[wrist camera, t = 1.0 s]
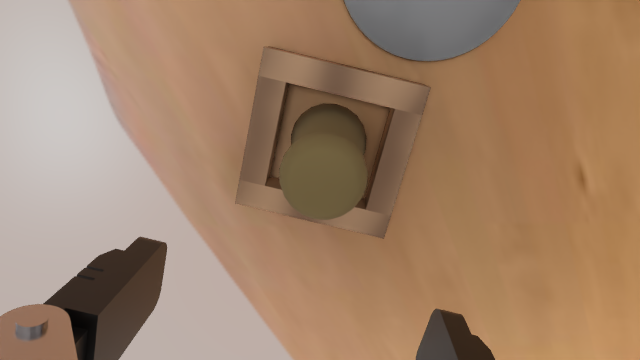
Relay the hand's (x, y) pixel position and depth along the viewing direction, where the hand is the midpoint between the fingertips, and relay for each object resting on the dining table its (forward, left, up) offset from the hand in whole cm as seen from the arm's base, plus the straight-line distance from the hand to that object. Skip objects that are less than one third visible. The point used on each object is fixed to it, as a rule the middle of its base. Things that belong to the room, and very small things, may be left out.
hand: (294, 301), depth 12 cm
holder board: (0, 0, -23) cm, 23 cm away
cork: (0, 0, -23) cm, 23 cm away
